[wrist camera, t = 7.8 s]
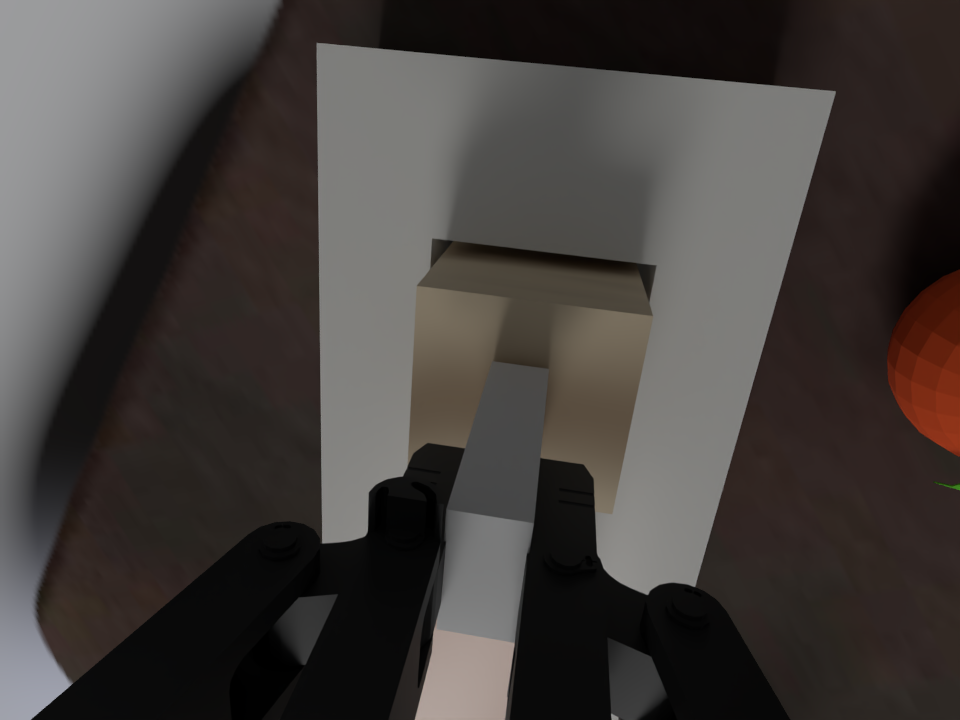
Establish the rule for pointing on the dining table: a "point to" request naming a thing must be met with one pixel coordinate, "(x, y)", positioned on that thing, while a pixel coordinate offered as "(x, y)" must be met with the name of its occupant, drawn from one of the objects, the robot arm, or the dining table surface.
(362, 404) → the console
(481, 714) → the pink cube block
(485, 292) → the beige cube
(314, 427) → the dining table surface
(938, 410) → the clementine
